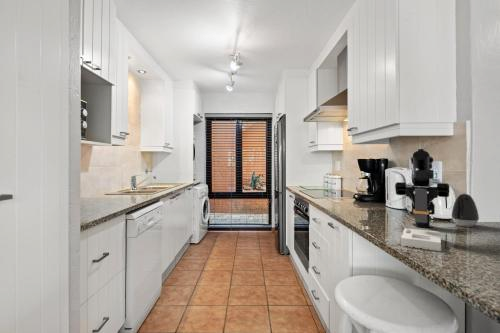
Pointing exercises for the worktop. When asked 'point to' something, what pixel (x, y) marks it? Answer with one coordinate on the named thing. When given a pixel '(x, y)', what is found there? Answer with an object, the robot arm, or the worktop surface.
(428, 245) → the socket block
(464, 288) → the worktop surface
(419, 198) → the plug
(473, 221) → the black egg-shaped dome
